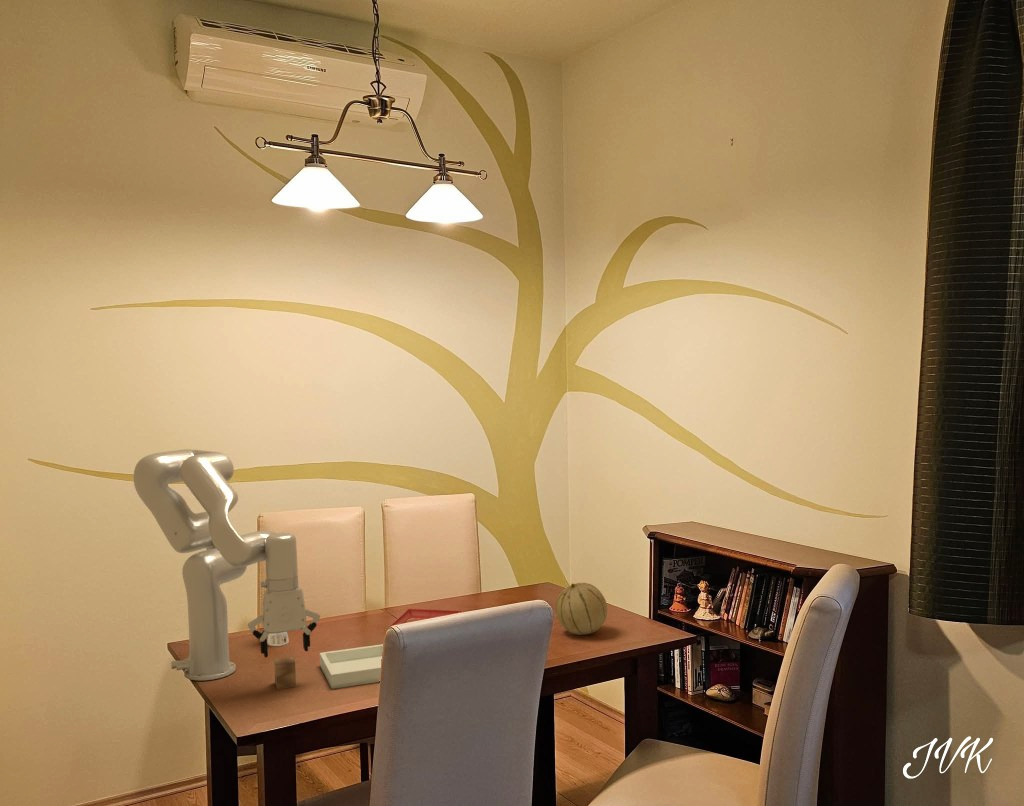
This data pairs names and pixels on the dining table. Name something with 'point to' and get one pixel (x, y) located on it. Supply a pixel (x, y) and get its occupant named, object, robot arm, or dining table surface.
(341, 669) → the tray
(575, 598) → the cantaloupe
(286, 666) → the block
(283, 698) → the dining table surface
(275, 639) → the beer glass
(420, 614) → the plant saucer
